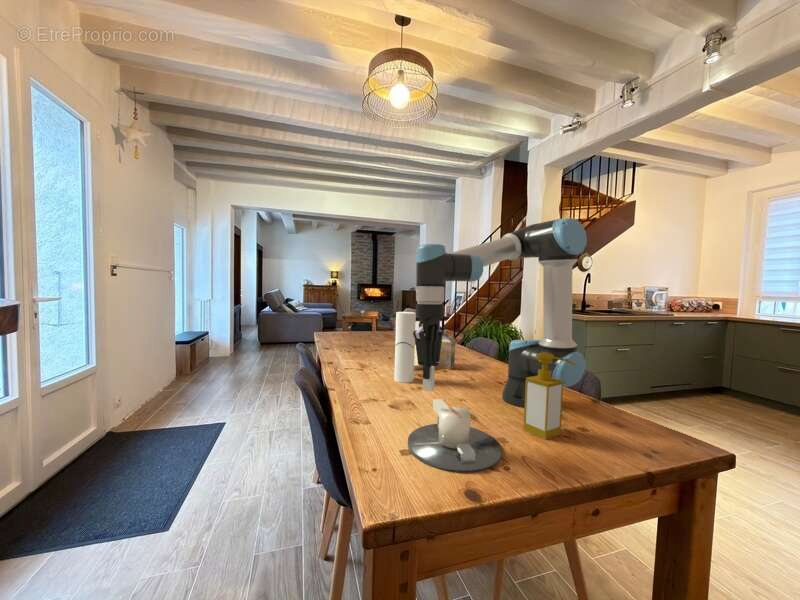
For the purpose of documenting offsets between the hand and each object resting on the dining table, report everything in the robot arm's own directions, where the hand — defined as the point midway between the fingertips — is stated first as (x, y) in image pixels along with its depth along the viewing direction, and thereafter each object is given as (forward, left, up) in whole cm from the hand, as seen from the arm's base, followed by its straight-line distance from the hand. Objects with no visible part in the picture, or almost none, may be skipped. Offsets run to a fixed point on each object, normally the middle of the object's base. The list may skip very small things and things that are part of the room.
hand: (428, 389), depth 89 cm
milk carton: (-29, -79, -14) cm, 86 cm away
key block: (-6, +2, -12) cm, 14 cm away
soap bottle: (-36, +2, -14) cm, 39 cm away
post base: (-6, +5, -14) cm, 16 cm away
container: (-4, -56, -14) cm, 58 cm away
